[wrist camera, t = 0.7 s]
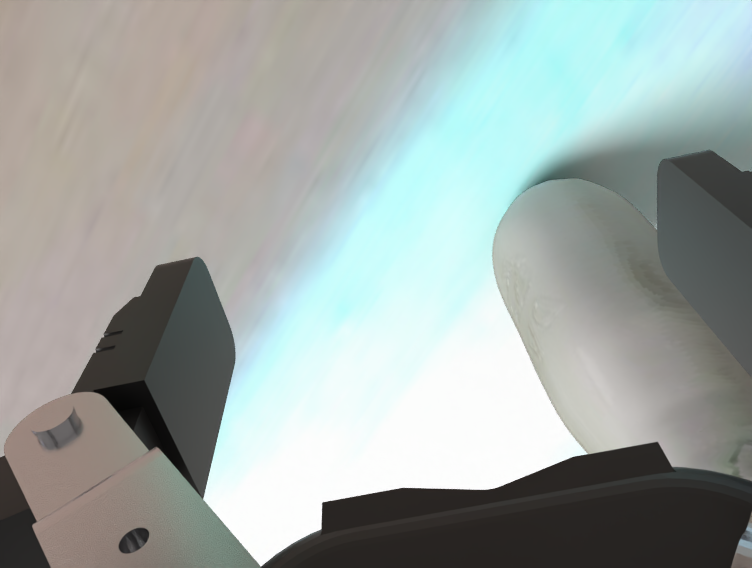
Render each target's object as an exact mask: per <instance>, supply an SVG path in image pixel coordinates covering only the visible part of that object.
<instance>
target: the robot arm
mask: <svg viewBox="0 0 752 568" xmlns="http://www.w3.org/2000/svg"><path fill="white" fill-rule="evenodd" d="M657 243H658V252H659V257H660V261H661V264H662V267H663V270H664V272H665V274H666V276H667V277H668V278H669V280H670V281H671V282H672V283H673V284H674V286H675V287H676V288H677V289H678V290H679V292H680V293H681V294H682V295H683V296H684V298H685V299H686V300H687V301H688V302H689V304H690V305H691V306H692V307H693V308H694V310H695V311H696V312H697V313H698V314H699V316H700V317H701V318H702V319H703V320H704V322H705V323H706V324H707V325H708V326H709V328H710V329H711V330H712V331H713V332H714V334H715V335H716V336H717V337H718V338H719V340H720V341H721V342H722V343H723V344H724V346H725V347H726V348H727V349H728V350H729V351H730V353H731V354H732V355H733V356H734V357H735V359H736V360H737V361H738V362H739V363H740V365H741V366H742V367H743V368H744V369H745V371H746V372H747V373H748V374H749V375H750V377H751V378H752V172H749V171H745V172H741V171H740V170H738V169H737V168H736V167H734V166H733V165H731V164H730V163H729V162H727V161H726V160H724V159H723V158H721V157H720V156H719V155H717V154H716V153H714V152H713V151H711V150H706V151H701V152H697V153H692V154H687V155H682V156H678V157H673V158H668V159H664V160H662V161H661V162H660V164H659V167H658V173H657ZM95 350H96V353H93V355H92V357H91V358H90V360H89V362H88V364H87V366H86V368H85V369H84V371H83V373H82V375H81V377H80V379H79V380H78V382H77V384H76V386H75V388H74V390H73V391H72V393H71V394H69V395H66V396H63V397H60V398H58V399H55V400H53V401H51V402H49V403H47V404H45V405H43V406H41V407H40V408H38V409H36V410H35V411H33V412H32V413H31V414H29V415H28V416H27V417H25V418H24V419H23V420H22V421H21V422H20V423H19V424H18V425H17V426H16V427H15V428H14V429H13V430H12V432H11V433H10V435H9V436H8V438H7V440H6V443H5V445H4V453H5V456H3V457H0V568H752V481H750V480H747V479H743V478H740V477H736V476H733V475H730V474H725V473H720V472H715V471H710V470H704V469H696V468H687V467H672V466H671V464H670V462H669V460H668V459H667V457H666V455H665V453H664V452H663V450H662V448H661V446H660V445H659V443H658V442H653V443H647V444H642V445H636V446H631V447H625V448H620V449H614V450H609V451H603V452H598V453H592V454H587V455H581V456H576V457H572V458H569V459H567V460H565V461H562V462H560V463H557V464H555V465H552V466H550V467H547V468H545V469H542V470H540V471H537V472H535V473H533V474H530V475H528V476H525V477H523V478H520V479H518V480H515V481H513V482H510V483H508V484H506V485H503V486H501V487H498V488H495V489H489V490H463V489H424V488H400V489H394V490H389V491H383V492H378V493H372V494H367V495H361V496H356V497H350V498H345V499H339V500H334V501H328V502H323V503H322V529H321V530H319V531H317V532H314V533H312V534H310V535H308V536H306V537H304V538H302V539H300V540H298V541H297V542H295V543H293V544H291V545H290V546H288V547H287V548H285V549H284V550H282V551H281V552H279V553H278V554H276V555H275V556H274V557H273V558H271V559H270V560H269V561H268V562H266V563H265V564H264V565H263V566H261V567H260V565H259V564H258V563H257V562H256V561H255V560H254V558H253V557H252V556H251V555H250V554H249V553H248V551H247V550H246V549H245V548H244V547H243V546H242V544H241V543H240V542H239V541H238V540H237V539H236V537H235V536H234V535H233V534H232V533H231V532H230V530H229V529H228V528H227V527H226V526H225V525H224V523H223V522H222V521H221V520H220V519H219V518H218V516H217V515H216V514H215V513H214V512H213V511H212V509H211V508H210V507H209V506H208V505H207V504H206V502H205V501H204V500H203V497H204V493H205V489H206V484H207V480H208V476H209V472H210V467H211V463H212V459H213V454H214V450H215V446H216V442H217V437H218V433H219V429H220V425H221V420H222V416H223V412H224V407H225V403H226V399H227V395H228V390H229V386H230V382H231V377H232V373H233V369H234V365H235V344H234V339H233V334H232V331H231V328H230V325H229V323H228V320H227V318H226V315H225V312H224V310H223V307H222V305H221V302H220V300H219V297H218V294H217V292H216V289H215V287H214V284H213V281H212V279H211V276H210V274H209V271H208V269H207V267H206V265H205V263H204V262H203V260H202V259H201V258H199V257H195V258H190V259H185V260H180V261H176V262H171V263H166V264H161V265H157V266H156V267H155V269H154V271H153V273H152V275H151V277H150V279H149V280H148V282H147V284H146V286H145V288H144V290H143V292H142V294H141V296H139V297H134V298H133V299H132V300H130V301H129V302H128V303H127V304H126V305H125V306H124V307H123V308H122V309H121V310H120V311H118V312H117V313H116V314H115V315H114V316H113V318H112V320H111V322H110V324H109V325H108V327H107V329H106V331H105V333H104V337H103V338H101V340H100V342H99V344H98V346H97V347H96V349H95Z"/></svg>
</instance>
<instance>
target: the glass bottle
mask: <svg viewBox="0 0 752 568" xmlns="http://www.w3.org/2000/svg"><path fill="white" fill-rule="evenodd" d="M492 258H493V268H494V274H495V278H496V282H497V285H498V288H499V291H500V294H501V296H502V299H503V301H504V303H505V306H506V308H507V310H508V312H509V314H510V316H511V318H512V320H513V322H514V324H515V326H516V328H517V330H518V332H519V334H520V337H521V339H522V341H523V343H524V345H525V348H526V350H527V352H528V355H529V357H530V359H531V361H532V364H533V366H534V368H535V370H536V372H537V374H538V377H539V379H540V381H541V383H542V385H543V387H544V389H545V391H546V393H547V395H548V397H549V399H550V401H551V403H552V405H553V406H554V408H555V410H556V412H557V414H558V415H559V417H560V418H561V420H562V422H563V423H564V425H565V426H566V428H567V429H568V430H569V432H570V433H571V434H572V435H573V437H574V438H575V439H576V441H577V442H578V443H579V444H580V445H581V447H582V448H583V449H584V450H585V451H586V452H587V453H588V454H592V453H598V452H603V451H609V450H614V449H620V448H625V447H631V446H636V445H642V444H647V443H653V442H658V443H659V445H660V446H661V448H662V450H663V452H664V453H665V455H666V457H667V459H668V460H669V462H670V464H671V466H672V467H687V468H696V469H704V470H710V471H715V472H720V473H725V474H730V475H733V476H736V477H740V478H743V479H747V480H750V481H752V378H751V377H750V375H749V374H748V373H747V372H746V371H745V369H744V368H743V367H742V366H741V365H740V363H739V362H738V361H737V360H736V359H735V357H734V356H733V355H732V354H731V353H730V351H729V350H728V349H727V348H726V347H725V346H724V344H723V343H722V342H721V341H720V340H719V338H718V337H717V336H716V335H715V334H714V332H713V331H712V330H711V329H710V328H709V326H708V325H707V324H706V323H705V322H704V320H703V319H702V318H701V317H700V316H699V314H698V313H697V312H696V311H695V310H694V308H693V307H692V306H691V305H690V304H689V302H688V301H687V300H686V299H685V298H684V296H683V295H682V294H681V293H680V292H679V290H678V289H677V288H676V287H675V286H674V284H673V283H672V282H671V281H670V280H669V278H668V277H667V276H666V274H665V272H664V270H663V267H662V264H661V261H660V257H659V252H658V243H657V230H656V229H655V228H654V227H653V226H652V224H651V223H650V222H649V221H648V220H647V219H646V218H645V217H644V216H643V215H642V214H641V213H640V212H639V211H638V210H637V209H636V208H635V207H634V206H633V205H632V204H631V203H630V202H628V201H627V200H626V199H625V198H623V197H622V196H621V195H619V194H617V193H615V192H614V191H611V190H609V189H607V188H605V187H603V186H600V185H598V184H595V183H593V182H590V181H586V180H582V179H578V178H571V179H558V180H548V181H545V182H543V183H540V184H538V185H535V186H533V187H531V188H529V189H528V190H526V191H524V192H523V193H521V194H520V195H519V196H518V197H517V198H516V199H515V200H514V201H513V203H512V204H511V205H510V207H509V208H508V209H507V211H506V213H505V214H504V216H503V218H502V219H501V221H500V223H499V225H498V227H497V230H496V233H495V237H494V242H493V252H492Z"/></svg>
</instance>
